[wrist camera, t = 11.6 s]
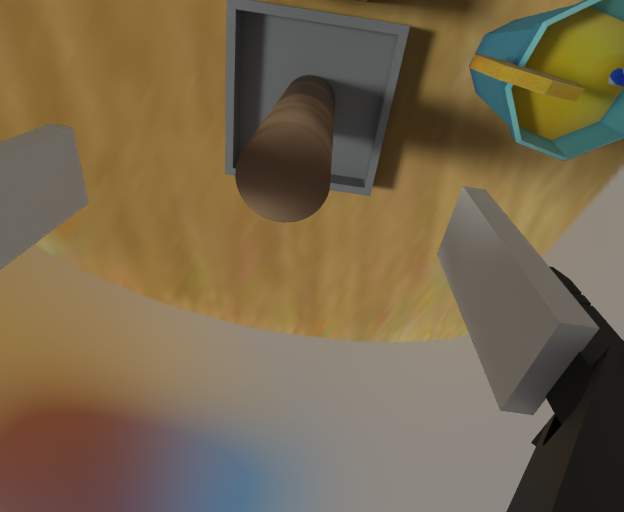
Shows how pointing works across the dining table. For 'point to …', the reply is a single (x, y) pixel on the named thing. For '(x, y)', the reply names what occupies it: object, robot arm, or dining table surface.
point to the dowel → (290, 154)
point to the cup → (557, 77)
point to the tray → (319, 62)
